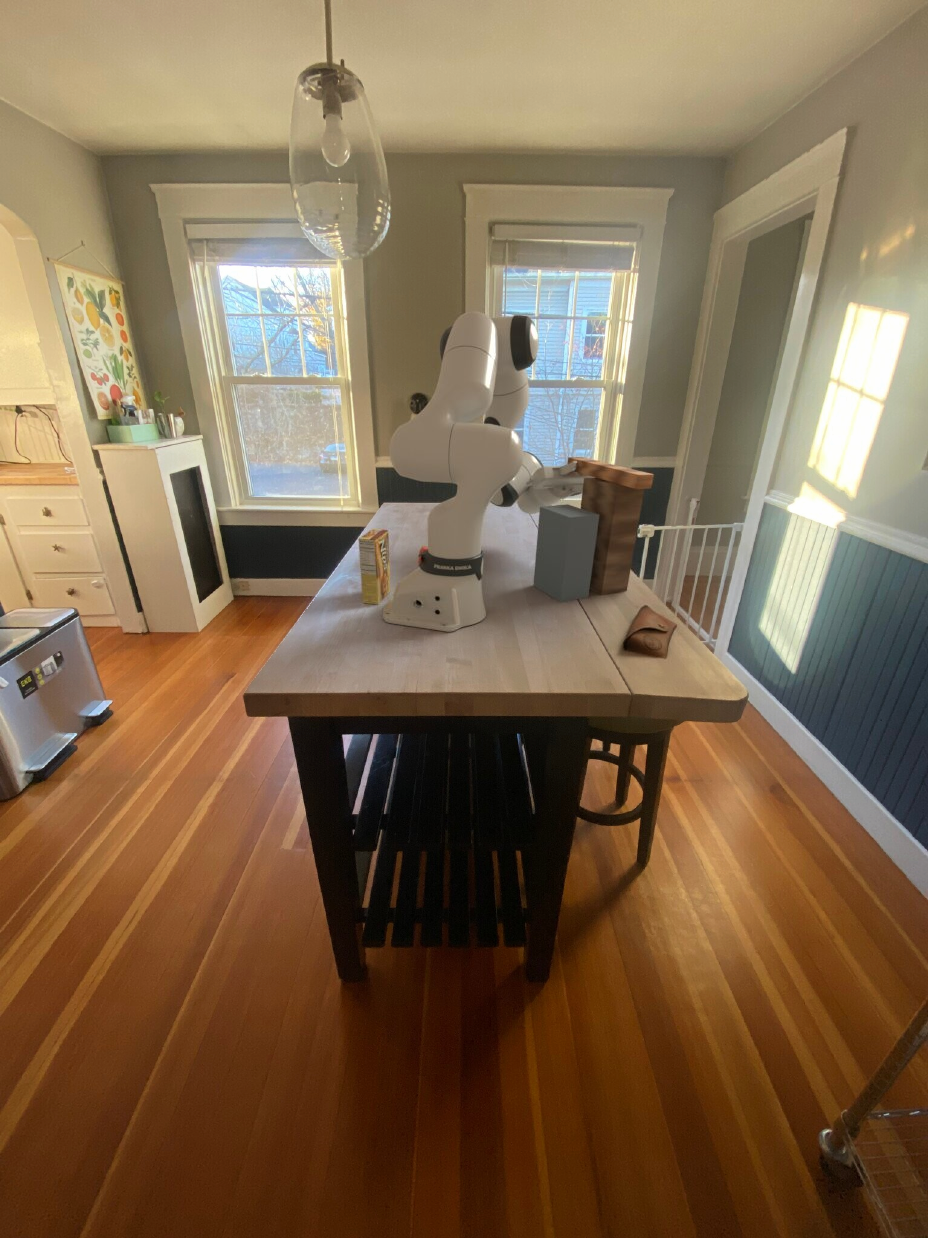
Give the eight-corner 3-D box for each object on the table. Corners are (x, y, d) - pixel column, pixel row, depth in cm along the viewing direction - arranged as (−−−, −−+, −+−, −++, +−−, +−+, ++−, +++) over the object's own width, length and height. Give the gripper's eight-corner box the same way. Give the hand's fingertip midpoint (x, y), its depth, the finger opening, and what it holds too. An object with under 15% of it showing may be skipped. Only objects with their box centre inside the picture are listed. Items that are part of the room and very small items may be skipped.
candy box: (375, 589, 118) (371, 528, 112) (391, 591, 118) (388, 529, 111) (362, 603, 110) (357, 538, 104) (379, 605, 110) (375, 539, 103)
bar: (566, 469, 125) (568, 457, 124) (579, 468, 127) (580, 456, 126) (637, 489, 104) (639, 475, 103) (651, 488, 106) (654, 474, 105)
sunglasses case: (669, 660, 89) (655, 628, 88) (632, 669, 93) (618, 638, 92) (678, 623, 103) (666, 596, 102) (646, 632, 107) (634, 606, 106)
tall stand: (572, 579, 128) (584, 478, 117) (596, 575, 131) (610, 476, 120) (601, 595, 118) (617, 486, 107) (626, 590, 121) (645, 484, 110)
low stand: (533, 585, 123) (539, 506, 115) (559, 581, 126) (567, 504, 118) (560, 602, 113) (570, 517, 105) (588, 597, 116) (599, 514, 108)
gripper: (521, 475, 130) (548, 452, 118) (582, 472, 138) (614, 450, 125) (525, 497, 130) (553, 477, 117) (587, 493, 138) (619, 474, 125)
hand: (585, 463), depth 121 cm, fingers closed on bar, 4 cm apart
